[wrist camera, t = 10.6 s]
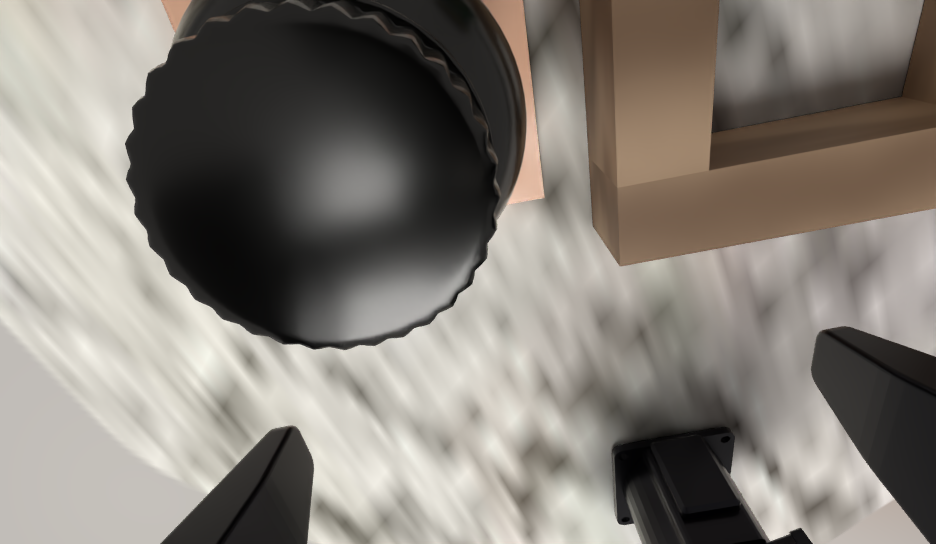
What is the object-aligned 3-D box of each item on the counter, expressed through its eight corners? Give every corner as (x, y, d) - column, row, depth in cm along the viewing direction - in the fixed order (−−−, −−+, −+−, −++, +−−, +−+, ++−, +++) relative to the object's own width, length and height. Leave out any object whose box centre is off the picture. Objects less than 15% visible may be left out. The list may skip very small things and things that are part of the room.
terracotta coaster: (540, 190, 20) (544, 197, 20) (272, 241, 21) (267, 250, 20) (501, -161, 15) (504, -168, 14) (138, -84, 15) (124, -87, 14)
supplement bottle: (415, 206, 19) (396, 463, 9) (244, 100, 17) (-47, 277, 7) (528, 46, 17) (684, 144, 6) (344, -103, 15) (128, -324, 4)
